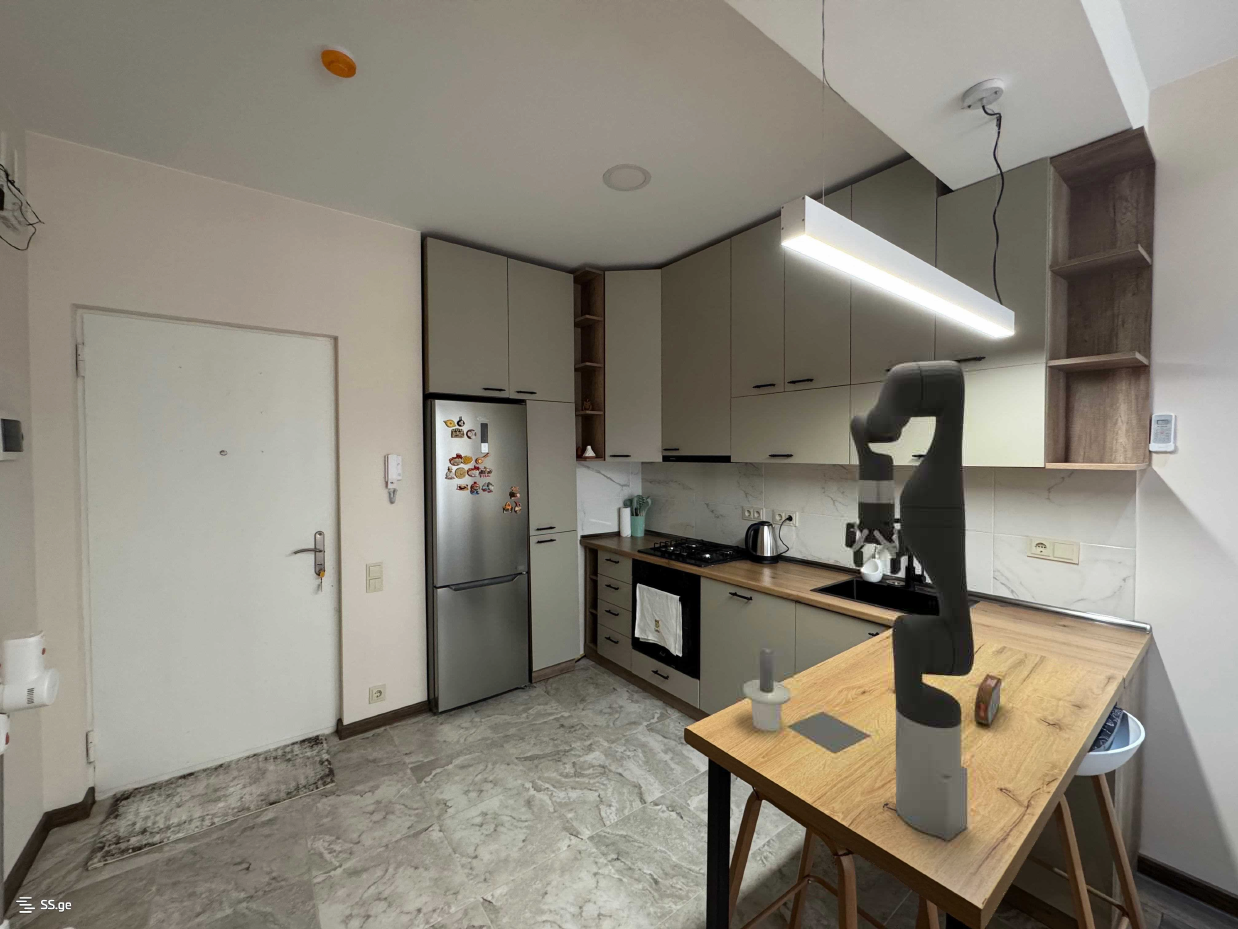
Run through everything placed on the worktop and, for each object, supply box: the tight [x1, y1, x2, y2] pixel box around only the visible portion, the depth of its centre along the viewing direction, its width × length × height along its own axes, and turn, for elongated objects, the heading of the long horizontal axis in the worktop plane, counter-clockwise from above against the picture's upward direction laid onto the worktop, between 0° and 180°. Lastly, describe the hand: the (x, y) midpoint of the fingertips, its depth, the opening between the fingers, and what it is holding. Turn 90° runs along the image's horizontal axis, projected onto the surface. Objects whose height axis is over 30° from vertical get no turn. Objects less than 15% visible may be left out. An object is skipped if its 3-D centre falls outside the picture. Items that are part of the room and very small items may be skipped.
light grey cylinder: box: [750, 700, 783, 732], centre depth 112 cm, size 7×7×7 cm
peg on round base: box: [742, 646, 791, 705], centre depth 112 cm, size 10×10×10 cm
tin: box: [973, 673, 1002, 726], centre depth 115 cm, size 15×3×8 cm, turn 134°
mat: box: [786, 710, 872, 754], centre depth 109 cm, size 12×12×1 cm
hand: (876, 570), depth 116 cm, fingers open, 8 cm apart
